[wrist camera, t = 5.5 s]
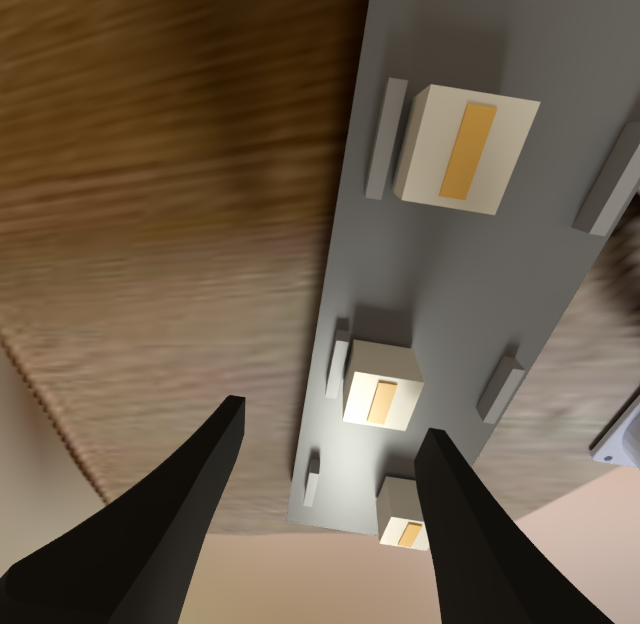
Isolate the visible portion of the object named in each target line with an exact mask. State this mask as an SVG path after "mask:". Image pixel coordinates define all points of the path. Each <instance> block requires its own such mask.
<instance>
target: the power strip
mask: <svg viewBox="0 0 640 624" xmlns="http://www.w3.org/2000/svg"><path fill="white" fill-rule="evenodd" d="M431 84H433V85H439V86H445V87H452V88H458V89H464V90H470V91H476V92H482V93H488V94H495V95H501V96H507V97H513V98H519V99H525V100H532V101H538V102H541V103H540V105H539V108H538V110H537V112H536V115H535V117H534V120H533V122H532V125H531V127H530V130H529V132H528V135H527V137H526V140H525V142H524V145H523V147H522V150H521V152H520V155H519V157H518V159H517V162H516V164H515V167H514V169H513V172H512V174H511V177H510V179H509V182H508V184H507V187H506V189H505V192H504V194H503V197H502V199H501V202H500V204H499V207H498V209H497V211H496V214H495V215H490V214H484V213H478V212H472V211H466V210H459V209H453V208H447V207H441V206H435V205H429V204H422V203H416V202H410V201H404V200H401V199H400V198H399V197H397V196H396V195H395V194H394V193H393V192H392V191H391V189H392V184H393V180H394V176H395V172H396V168H397V163H398V159H399V155H400V151H401V146H402V142H403V138H404V134H405V130H406V125H407V121H408V117H409V113H410V109H411V104H412V100H413V97H415V96H416V95H417V94H419V93H420V92H421V91H423V90H424V89H425V88H427V87H428V86H429V85H431ZM639 186H640V0H369V6H368V12H367V18H366V24H365V31H364V37H363V43H362V49H361V55H360V62H359V68H358V74H357V80H356V87H355V93H354V99H353V105H352V111H351V118H350V124H349V130H348V136H347V143H346V149H345V155H344V161H343V167H342V174H341V180H340V186H339V192H338V199H337V205H336V211H335V217H334V223H333V230H332V236H331V242H330V248H329V255H328V261H327V267H326V273H325V279H324V286H323V292H322V298H321V304H320V311H319V317H318V323H317V329H316V335H315V342H314V348H313V354H312V360H311V367H310V373H309V379H308V385H307V392H306V398H305V404H304V410H303V416H302V423H301V429H300V435H299V441H298V448H297V454H296V460H295V466H294V472H293V479H292V485H291V491H290V497H289V504H288V510H287V516H286V521H287V522H293V523H299V524H306V525H312V526H318V527H325V528H331V529H337V530H344V531H350V532H356V533H362V534H369V535H375V536H379V535H378V523H377V512H376V501H377V498H378V496H379V493H380V491H381V488H382V486H383V483H384V481H385V478H386V476H388V477H394V478H400V479H407V480H413V481H416V478H415V468H414V460H415V458H416V455H417V453H418V451H419V449H420V447H421V444H422V442H423V440H424V438H425V435H426V433H427V431H428V429H429V428H435V429H442V430H445V431H446V433H447V434H448V435H449V437H450V438H451V440H452V441H453V443H454V444H455V445H456V447H457V448H458V450H459V451H460V453H461V454H462V455H463V457H464V458H465V460H466V461H467V462H468V464H469V465H470V467H471V468H472V466H473V464H474V463H475V461H476V459H477V457H478V456H479V454H480V452H481V451H482V449H483V447H484V446H485V444H486V442H487V441H488V439H489V437H490V436H491V434H492V432H493V431H494V429H495V427H496V426H497V424H498V422H499V421H500V419H501V417H502V416H503V414H504V412H505V411H506V409H507V407H508V406H509V404H510V402H511V401H512V399H513V397H514V396H515V394H516V392H517V391H518V389H519V387H520V385H521V384H522V382H523V380H524V379H525V377H526V375H527V374H528V372H529V370H530V369H531V367H532V365H533V364H534V362H535V360H536V359H537V357H538V355H539V354H540V352H541V350H542V349H543V347H544V345H545V344H546V342H547V340H548V339H549V337H550V335H551V334H552V332H553V330H554V329H555V327H556V325H557V324H558V322H559V320H560V319H561V317H562V315H563V313H564V312H565V310H566V308H567V307H568V305H569V303H570V302H571V300H572V298H573V297H574V295H575V293H576V292H577V290H578V288H579V287H580V285H581V283H582V282H583V280H584V278H585V277H586V275H587V273H588V272H589V270H590V268H591V267H592V265H593V263H594V262H595V260H596V258H597V257H598V255H599V253H600V252H601V250H602V248H603V247H604V245H605V243H606V241H607V240H608V238H609V236H610V235H611V233H612V231H613V230H614V228H615V226H616V225H617V223H618V221H619V220H620V218H621V216H622V215H623V213H624V211H625V210H626V208H627V206H628V205H629V203H630V201H631V200H632V198H633V196H634V195H635V193H636V191H637V190H638V188H639ZM353 339H354V340H361V341H367V342H373V343H379V344H385V345H392V346H398V347H404V348H410V349H413V350H414V353H415V356H416V359H417V362H418V365H419V368H420V371H421V374H422V377H423V380H424V385H423V388H422V391H421V393H420V396H419V398H418V401H417V403H416V406H415V408H414V411H413V413H412V416H411V418H410V421H409V423H408V426H407V428H406V431H401V430H395V429H389V428H383V427H376V426H370V425H364V424H357V423H351V422H345V421H342V417H343V382H344V378H345V374H346V369H347V365H348V361H349V356H350V352H351V348H352V344H353Z"/></svg>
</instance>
